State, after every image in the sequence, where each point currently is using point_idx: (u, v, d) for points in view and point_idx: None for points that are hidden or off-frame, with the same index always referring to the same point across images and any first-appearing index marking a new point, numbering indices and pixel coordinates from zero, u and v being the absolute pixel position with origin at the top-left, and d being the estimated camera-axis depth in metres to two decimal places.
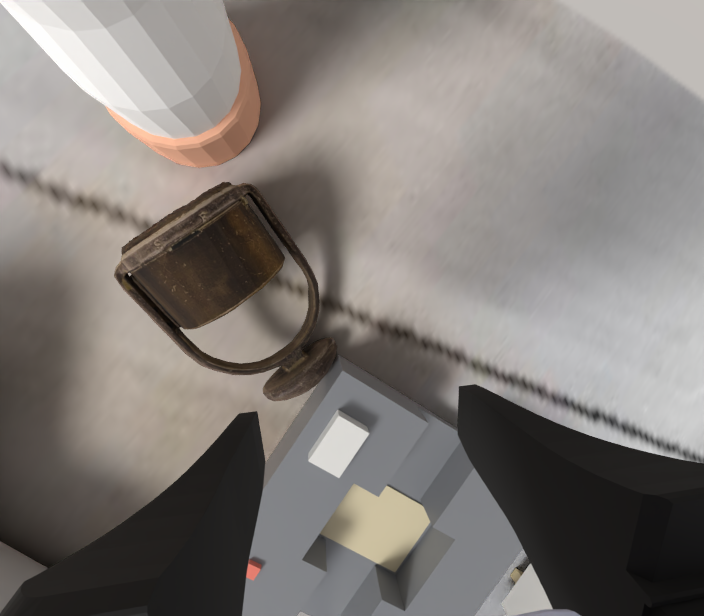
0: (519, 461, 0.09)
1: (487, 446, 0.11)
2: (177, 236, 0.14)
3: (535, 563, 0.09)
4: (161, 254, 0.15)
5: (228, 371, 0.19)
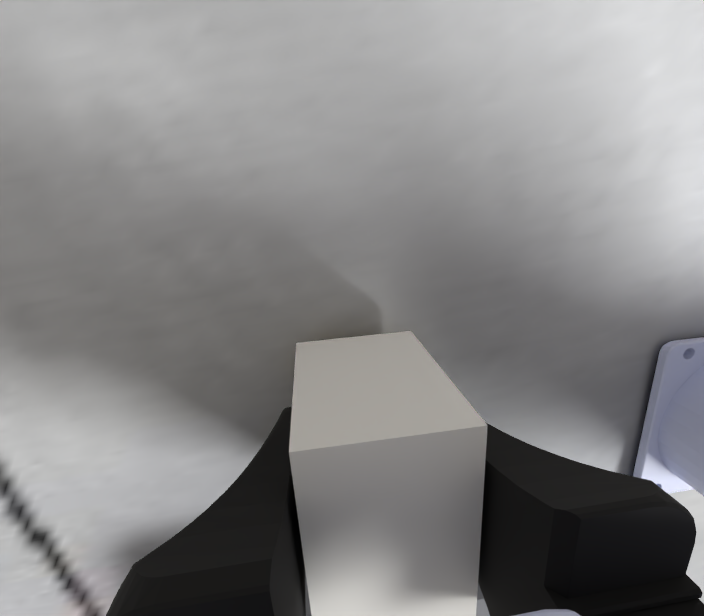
0: None
1: None
2: None
3: None
4: None
5: None
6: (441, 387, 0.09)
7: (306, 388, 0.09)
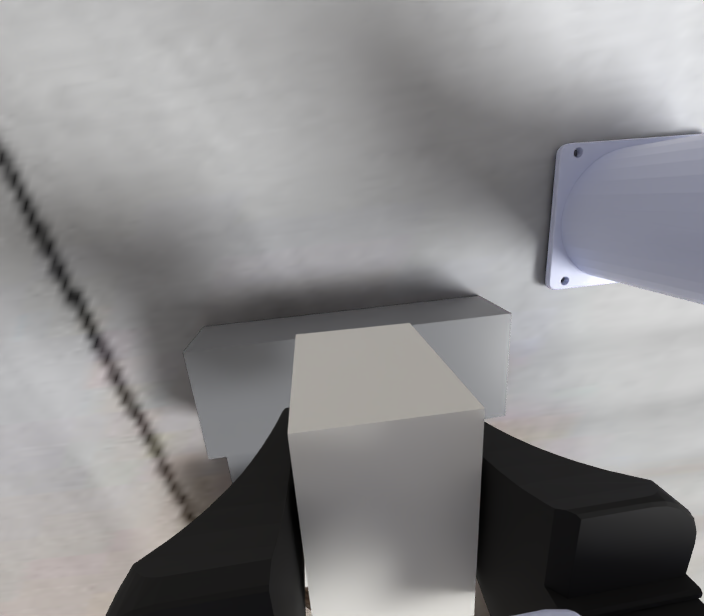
0: None
1: None
2: None
3: (478, 573, 0.09)
4: None
5: None
6: (439, 374, 0.09)
7: (306, 376, 0.09)
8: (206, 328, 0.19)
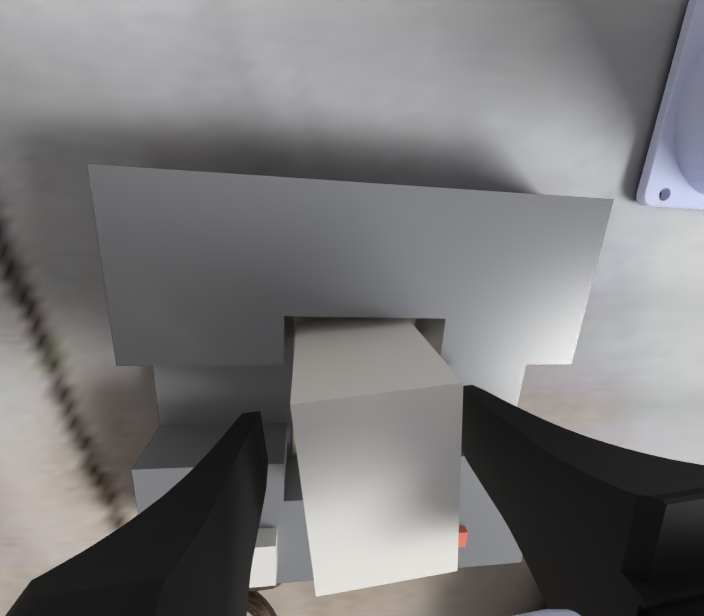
0: (515, 462, 0.09)
1: (484, 446, 0.11)
2: None
3: (532, 563, 0.09)
4: None
5: None
6: (426, 355, 0.10)
7: (306, 358, 0.10)
8: None
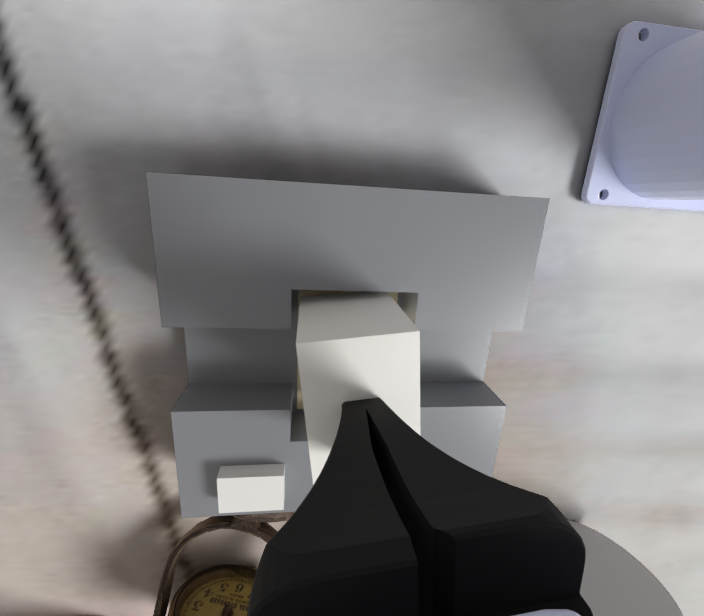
0: (389, 480, 0.09)
1: None
2: None
3: None
4: None
5: None
6: (397, 316, 0.13)
7: (307, 318, 0.13)
8: None
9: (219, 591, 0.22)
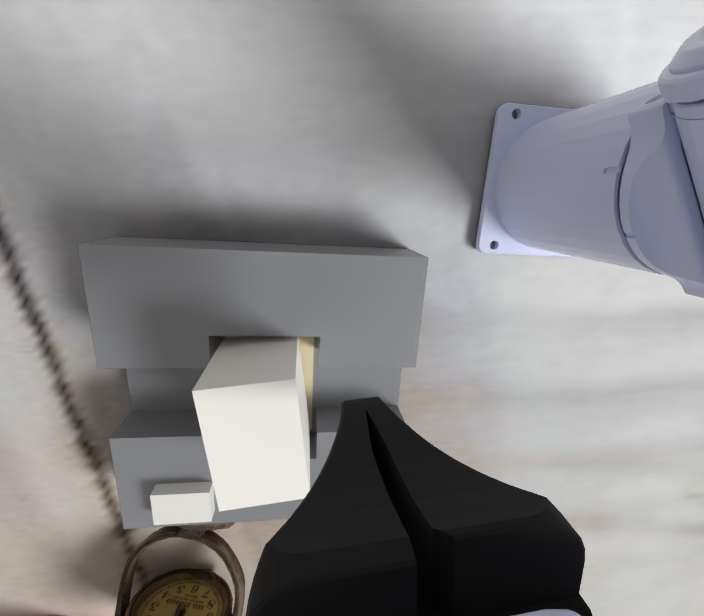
0: (389, 480, 0.09)
1: (375, 462, 0.10)
2: None
3: None
4: None
5: (232, 570, 0.22)
6: (288, 362, 0.16)
7: (215, 363, 0.16)
8: (119, 237, 0.18)
9: (176, 593, 0.24)
